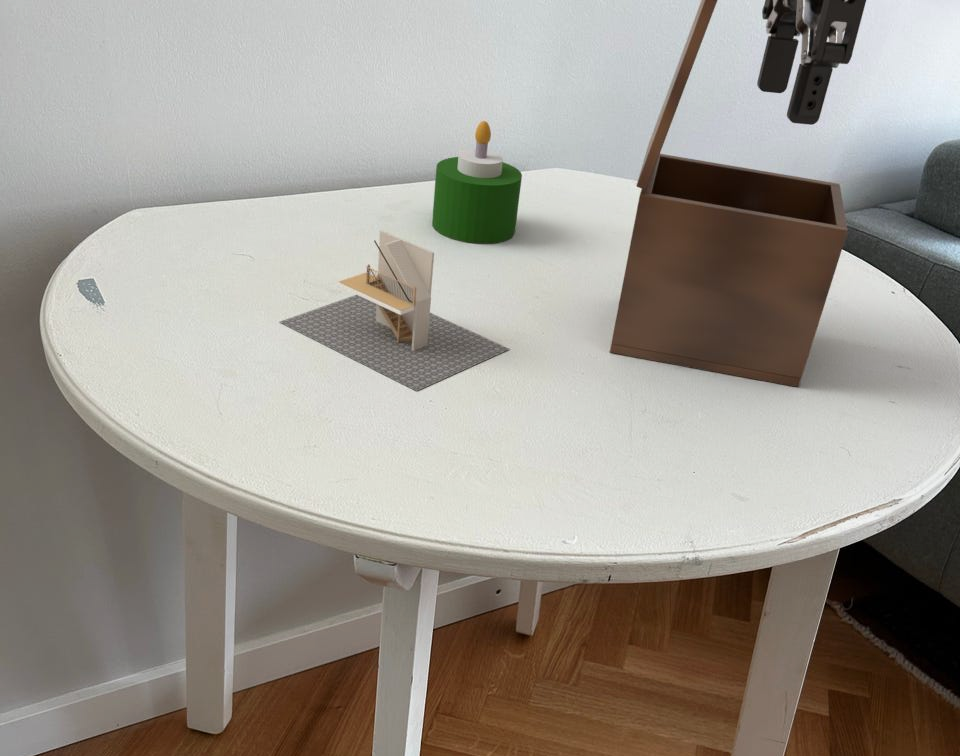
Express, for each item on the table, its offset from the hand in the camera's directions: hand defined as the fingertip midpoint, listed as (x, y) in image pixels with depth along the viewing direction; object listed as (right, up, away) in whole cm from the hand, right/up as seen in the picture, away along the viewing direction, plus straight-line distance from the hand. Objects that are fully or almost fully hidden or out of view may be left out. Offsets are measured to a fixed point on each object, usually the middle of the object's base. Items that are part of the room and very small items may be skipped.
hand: (785, 106), depth 83 cm
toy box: (-3, -14, +12) cm, 19 cm away
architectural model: (-30, -15, +7) cm, 34 cm away
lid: (-7, +3, -1) cm, 8 cm away
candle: (-24, +1, +28) cm, 36 cm away
